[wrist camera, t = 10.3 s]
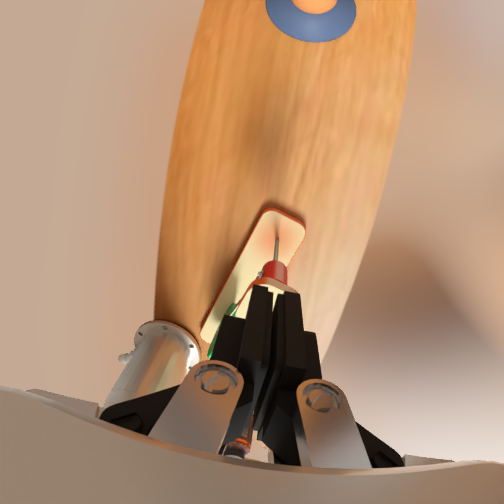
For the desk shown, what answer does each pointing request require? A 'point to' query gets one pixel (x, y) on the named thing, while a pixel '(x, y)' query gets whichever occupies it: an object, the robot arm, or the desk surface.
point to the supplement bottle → (240, 443)
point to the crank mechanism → (257, 268)
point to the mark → (312, 20)
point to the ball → (315, 5)
